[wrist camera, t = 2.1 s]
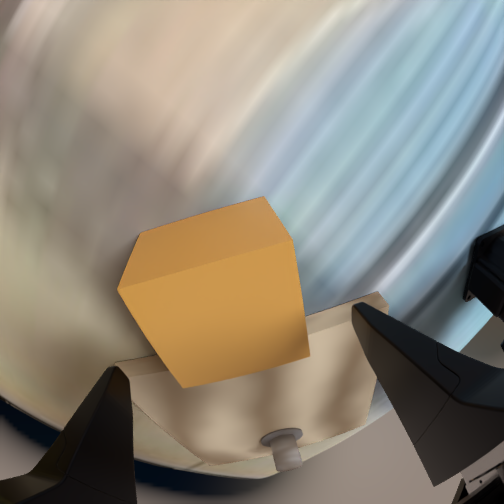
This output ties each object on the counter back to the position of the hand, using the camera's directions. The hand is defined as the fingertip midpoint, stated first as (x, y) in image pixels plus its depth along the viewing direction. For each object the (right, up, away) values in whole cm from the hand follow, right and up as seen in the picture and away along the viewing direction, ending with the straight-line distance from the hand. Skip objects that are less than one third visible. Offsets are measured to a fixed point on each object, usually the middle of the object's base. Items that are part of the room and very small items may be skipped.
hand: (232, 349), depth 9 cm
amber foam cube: (-1, +3, +5) cm, 5 cm away
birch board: (+2, -10, +12) cm, 15 cm away
